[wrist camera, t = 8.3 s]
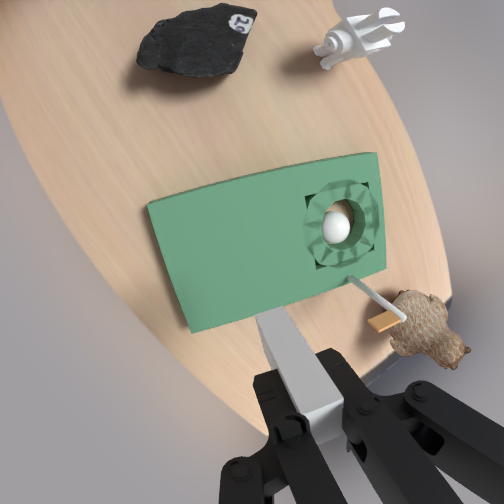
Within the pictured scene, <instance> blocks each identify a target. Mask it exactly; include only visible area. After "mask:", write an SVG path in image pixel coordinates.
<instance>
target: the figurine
mask: <svg viewBox="0 0 504 504" xmlns="http://www.w3.org/2000/svg"><path fill="white" fill-rule="evenodd" d="M399 294H400V295H399V296H398V297H397V298H396V299H395V301H394V302H393V303H392V305H393V306H395V307H396V308H397V309H399V310H400V311H401V312H402V313H404V314H405V315H406V316H407V319H406V320H405V321H404V322H399V323H397V324H396V325H394V326H392V327H390V328H388V331H389V333H390V335H391V336H392V337H393V339H394V340H390V343H391V346H392V348H393V349H394V350H395V351H396V352H397V353H398V354H400V355H401V356H404V357H408V356H412V355H415V354H416V353H422V354H425V355H427V356H429V357H430V358H432V359H433V360H434V361H436V362H437V363H438V364H439V365H440V366H441V367H444V368H445V369H447V368H451V369H452V370H455V369H456V368H457V366H458V363H459V362H460V360H461V359H462V358H463V356H464V355H465V354H467V353H470V352H471V349H470V348H469V347H466V346H465V345H464V342H463V341H462V339H461V337H460V336H459V335H457V334H456V333H454V332H452V331H451V330H450V329H449V328H448V326H447V322H446V321H447V319H448V313H447V309H446V307H445V305H444V303H443V302H442V301H441V300H440V299H439V298H438V297H437V296H434V295H432V294H430V296H429V297H430V298H429V297H428V296H426V295H425V294H423V293H421V292H419V291H417V290H407V291H403V290H402V291H400V293H399ZM386 311H387V310H386V309H384V312H386Z"/></svg>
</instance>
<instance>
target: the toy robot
mask: <svg viewBox="0 0 504 504" xmlns="http://www.w3.org/2000/svg"><path fill="white" fill-rule="evenodd" d="M397 16H400V14H399V13H397V12H396V11H395V10H393V9H390V8H382V9H380V10H378V11H377V12H375V13H373V14H371V15H362V16H355V17H348V18H345V19H344V20H342V21H341V22H340V23H338V24H337V25H336V26H334V27H333V28H332V29H330V30H329V31H328V33H327V34H326V37H325V38H324V45H323V46H322V45H316V46H315V47H314V48H313V51H314V53H315V55H316V56H320V57H324V56H326V55H328V54H330V53H332V52H333V53H332V54H330V55H328V56H326V57H324V58H323V59H322V60H321V61H320V62H319V63H320V65H321V67H322V69H326V70H330V68H331V67H332V66H333V65H335V64H337V63H339V62H343V61H348V60H351V59H355V58H362V57H365V56H368V55H371V54H374V53H376V52H379V50H381V49H383V48H386V47H388V46H391V44H390V43H389V41H391V39H392V35H395V34H397V33H399V32H402V31H403V29H404V28H405V25H404V22H400V23H396V24H388V25H386V24H383V23H385V22H387V21H389V20H391V19H393V18H395V17H397Z"/></svg>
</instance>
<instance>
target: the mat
mask: <svg viewBox="0 0 504 504" xmlns="http://www.w3.org/2000/svg"><path fill="white" fill-rule="evenodd" d="M342 199H347V201H348V202H349V204H350V205H351V207H352V208H353V213H354V224H353V226H352V229H351V232H350V234H349V235H348V236H347V237H346V239H345V240H343V241H342V242H340V243H336V244H327V243H326V241H325V240H324V239H323V236H322V228H321V223H322V220H323V217H324V214H325V211H326V210H327V209H328V208H329V207H330V206H331V205H332V204H333V203H334V202H335V201H338V200H342ZM147 208H148V211H149V214H150V218H151V221H152V224H153V228H154V231H155V234H156V237H157V240H158V243H159V246H160V250H161V253H162V256H163V258H164V261H165V264H166V267H167V270H168V273H169V276H170V279H171V281H172V284H173V287H174V290H175V292H176V295H177V298H178V300H179V303H180V306H181V308H182V311H183V313H184V316H185V318H186V321H187V323H188V326H189V328H190V331H191V333H196V332H200V331H203V330H207V329H210V328H214V327H217V326H221V325H224V324H228V323H231V322H235V321H238V320H241V319H245V318H248V317H251V316H254V315H255V314H258V313H262V312H265V311H268V310H271V309H274V308H277V307H280V306H286V305H289V304H292V303H295V302H298V301H300V300H303V299H306V298H309V297H312V296H315V295H318V294H321V293H323V292H326V291H329V290H332V289H335V288H337V287H340V286H343V285H345V284H348V283H351V282H352V283H353V284H354V285H356V286H357V287H358V288H360V289H361V290H362V291H363V292H365V293H366V294H367V295H368V296H370V297H371V298H372V299H374V300H375V301H376V302H377V303H379V304H380V305H381V306H382V307H384V308H385V309H386V310H387V311H386V312H384V313H382V314H379V315H377V316H375V317H373V318H371V319H368V323H369V324H370V325H371V326H372V327H373V328H374V329H375V330H376V331H377V332H378V333H379V332H381V331H384V330H386V329H388V328H390V327H392V326H394V325H396V324H397V323H399V322H404V321H405V320H406V319H407V316H406V315H405V314H404V313H402V312H401V311H400V310H399V309H397V308H396V307H395V306H393V305H392V304H391V303H389V302H388V301H387V300H385V299H384V298H383V297H381V296H380V295H379V294H377V293H376V292H375V291H373V290H372V289H371V288H369V287H368V286H366V285H365V284H364V283H362V282H361V281H360V280H359V279H361V278H364V277H366V276H369V275H372V274H374V273H377V272H379V271H382V270H384V269H386V239H385V222H384V209H383V198H382V188H381V179H380V172H379V164H378V157H377V153H372V152H364V153H357V154H351V155H345V156H339V157H333V158H327V159H321V160H316V161H310V162H305V163H300V164H295V165H290V166H285V167H281V168H276V169H271V170H267V171H262V172H258V173H254V174H249V175H245V176H241V177H237V178H233V179H229V180H225V181H221V182H217V183H213V184H209V185H206V186H202V187H198V188H195V189H191V190H188V191H184V192H181V193H177V194H174V195H170V196H167V197H164V198H160V199H157V200H154V201H151V202H149V203H148V204H147Z"/></svg>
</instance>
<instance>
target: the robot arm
mask: <svg viewBox="0 0 504 504" xmlns="http://www.w3.org/2000/svg"><path fill="white" fill-rule="evenodd" d="M255 318H256V322H257V326H258V330H259V333H260V337H261V341H262V345H263V348H264V352H265V355H266V357H267V360H268V362H269V364H270V366H271V369H272V370H271V371H268V372H265V373H262V374H259V375H256V376H255V377H254V382H253V388H254V390H255V393H256V396H257V399H258V402H259V405H260V408H261V411H262V414H263V416H264V419H265V422H266V425H267V428H268V431H269V439H268V441H267V443H266V445H265V446H264V447H263V448H262V449H261V450H260V451H258V452H256V453H255V454H253V455H252V456H250V457H242V456H241V457H236V458H233V459H231V460H229V461H228V462H227V463H226V464H225V465H224V466H223V468H222V471H221V479H220V492H219V504H274V494H275V493H277V492H278V491H280V490H282V489H283V488H285V487H286V486H288V485H289V486H290V489H291V491H292V494H293V496H294V498H295V501H296V503H297V504H348V503H347V502H346V500H345V498H344V496H343V494H342V492H341V490H340V488H339V486H338V485H337V483H336V481H335V479H334V477H333V475H332V473H331V471H330V470H329V467H328V465H327V464H326V462H325V460H324V457H323V455H322V453H321V451H320V450H319V448H318V446H317V445H319V444H321V443H324V442H326V441H329V440H331V439H333V438H336V437H338V436H340V435H342V431H343V430H344V432H345V434H346V435H347V447H346V449H347V452H350V449H351V450H352V452H353V454H354V455H355V457H356V459H357V460H358V462H359V464H360V466H361V467H362V469H363V471H364V472H365V474H366V476H367V477H368V479H369V481H370V483H371V484H372V486H373V488H374V489H375V491H376V493H377V494H378V496H379V497H380V499H381V501H382V503H383V504H463V503H462V501H461V500H460V498H459V497H458V496H457V494H456V493H455V492H454V490H453V489H452V488H451V486H450V485H449V484H448V482H447V481H446V480H445V478H444V477H443V476H442V475H441V473H440V472H439V471H438V470H437V468H436V467H438V468H439V469H440V470H442V471H443V472H444V473H446V474H447V475H449V476H450V477H452V478H453V479H454V480H456V481H457V482H459V483H460V484H462V485H463V486H464V487H466V488H467V489H469V490H470V491H472V492H473V493H475V494H476V495H478V496H479V497H481V498H482V499H484V500H486V501H487V502H489V503H490V504H504V427H502V426H501V425H499V424H497V423H495V422H494V421H492V420H491V419H489V418H487V417H485V416H484V415H482V414H481V413H479V412H477V411H475V410H474V409H472V408H471V407H469V406H467V405H466V404H464V403H463V402H461V401H459V400H458V399H456V398H454V397H453V396H451V395H450V394H448V393H446V392H445V391H443V390H442V389H440V388H438V387H437V386H435V385H433V384H432V383H430V382H427V381H416V382H413V383H411V384H410V385H408V387H407V389H406V390H405V392H403V393H399V394H395V395H391V396H379V395H377V394H374V393H372V392H371V391H369V390H368V388H367V387H366V386H365V385H364V383H363V382H362V381H361V379H360V378H359V377H358V375H357V374H356V373H355V372H354V370H353V369H352V368H351V366H350V365H349V364H348V362H346V360H345V359H344V357H343V356H342V355H341V353H339V352H338V351H336V350H334V349H332V348H329V349H326V350H324V351H321V352H319V353H316V354H314V352H313V351H312V349H311V348H310V346H309V345H308V343H307V342H306V340H305V339H304V337H303V336H302V334H301V333H300V331H299V329H298V328H297V326H296V325H295V323H294V322H293V320H292V319H291V317H290V316H289V314H288V313H287V311H286V310H285V308H284V307H283V306H280V307H277V308H274V309H271V310H268V311H265V312H262V313H258V314H255ZM435 466H436V467H435Z"/></svg>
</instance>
